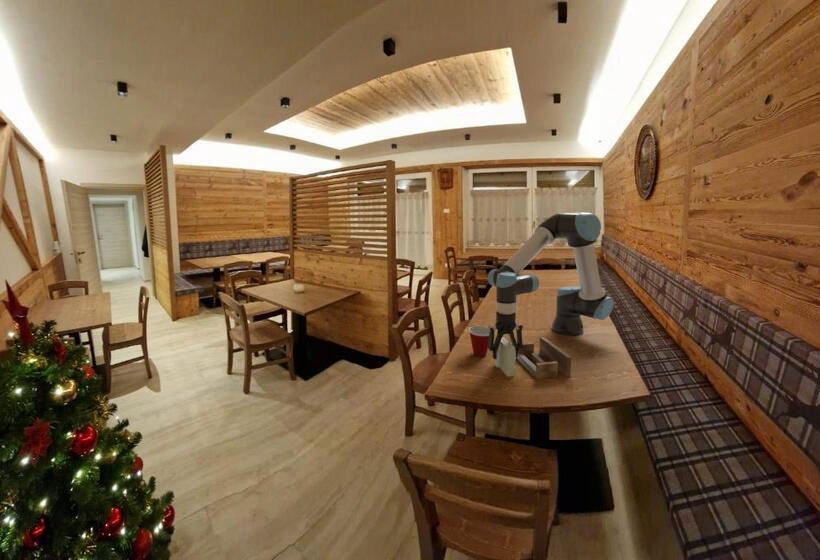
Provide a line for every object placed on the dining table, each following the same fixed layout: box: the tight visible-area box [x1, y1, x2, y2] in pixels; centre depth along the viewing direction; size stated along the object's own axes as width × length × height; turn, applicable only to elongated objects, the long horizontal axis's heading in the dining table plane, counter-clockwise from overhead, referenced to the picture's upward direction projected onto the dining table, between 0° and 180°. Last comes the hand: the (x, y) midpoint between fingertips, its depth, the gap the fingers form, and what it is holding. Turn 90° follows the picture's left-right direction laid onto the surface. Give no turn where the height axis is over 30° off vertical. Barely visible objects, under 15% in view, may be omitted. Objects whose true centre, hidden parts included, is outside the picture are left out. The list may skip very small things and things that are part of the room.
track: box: [516, 336, 572, 380], centre depth 144 cm, size 13×22×8 cm, turn 7°
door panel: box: [497, 336, 516, 377], centre depth 142 cm, size 3×12×12 cm, turn 7°
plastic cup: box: [468, 325, 490, 358], centre depth 157 cm, size 11×11×12 cm
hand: (504, 364), depth 143 cm, fingers open, 6 cm apart
